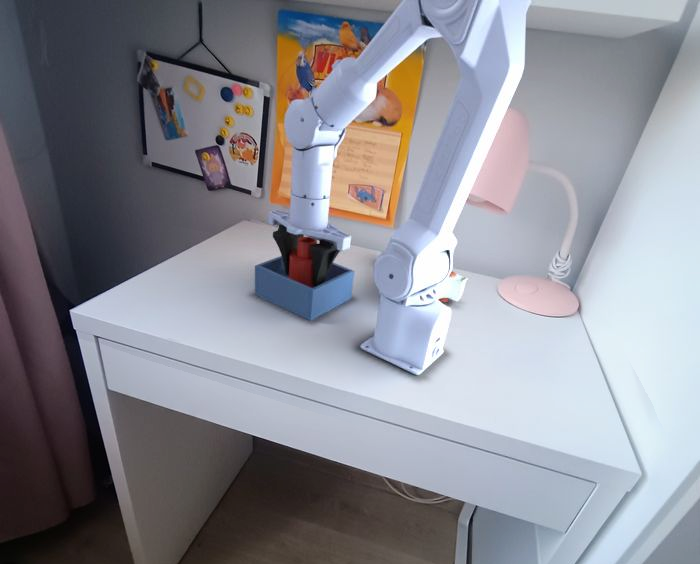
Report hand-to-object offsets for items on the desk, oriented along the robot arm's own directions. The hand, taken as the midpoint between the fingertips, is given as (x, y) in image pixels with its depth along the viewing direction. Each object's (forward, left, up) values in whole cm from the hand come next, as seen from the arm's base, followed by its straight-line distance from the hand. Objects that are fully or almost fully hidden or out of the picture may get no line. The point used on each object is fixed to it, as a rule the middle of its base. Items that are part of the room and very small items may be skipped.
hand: (304, 279), depth 76 cm
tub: (0, 0, -3) cm, 3 cm away
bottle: (0, 0, -2) cm, 2 cm away
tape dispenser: (-12, -17, -3) cm, 21 cm away
